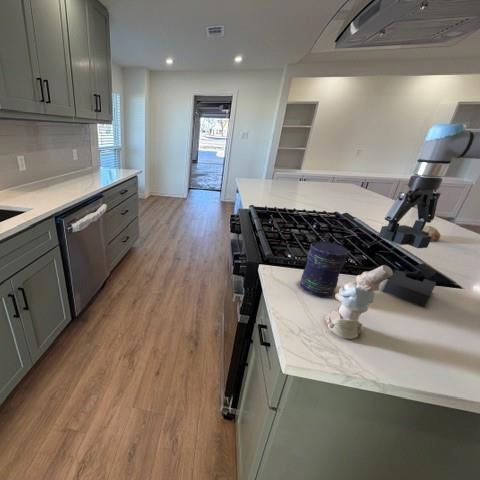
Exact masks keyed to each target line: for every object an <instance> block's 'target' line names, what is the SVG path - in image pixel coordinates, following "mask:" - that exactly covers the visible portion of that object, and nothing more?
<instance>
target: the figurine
mask: <svg viewBox="0 0 480 480" xmlns="http://www.w3.org/2000/svg"><path fill="white" fill-rule="evenodd" d="M393 273H394V271H393V269H392V268H391V267H389V266H388V265H386V264H383V265H380V266H378V267H376V268H373V269H372V270H369V271H367V270H366V271H363V272H362V273H361V274H358V275H356V279H355V281H356V282H354V281H351V282H348V283H345V284H343V285H341V287H340V288H339V289H338V292H336V293H335V295H334V296H335V299H336V300H338V301H339V303H340V306H339V307H336V308H335V309H333V310H331V311H330V313H329V314H328V315H326V316H325V321H326V324H327V328H328V329H329V330H330V331H331V332H333V333H334V334H335V335H337V336H338V337H341V338H344V339H350V340H352V339H356V338H358V336H359V334H364V329H363V324H362V323H361V322H360V321H359V318H360V316H361V315H362V314H364V313H367V311H368V310H369V307H368V305H370V304H372V303H373V302H374V299H375V295H376V293H375V292H378V291H380V286H381V285H380V284H381V283H382V282H384V281H386V280H388V279H389V278H390V277H391V276H392V275H393Z"/></svg>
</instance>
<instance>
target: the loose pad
mask: <svg viewBox="0 0 480 480" xmlns="http://www.w3.org/2000/svg"><path fill="white" fill-rule="evenodd" d="M387 227H388V225H382V226H381V228H380V231H379V233H378V237H379V238H381V239H384V236H385V233H386V229H387ZM428 235H429V233H428V232H425V231H422V230H419V229H415V228H413V226H409V225H406V224H404V225H403V224H399V227H398V229H397V231H396V234H395V236H394V239H393V241H390V242H392V243H394V244H395V245H396V244H397V245H399V246H405V245H406V246H407V245H408V246H410V247H413V248H416V249H427V248H428V247H429V245H430V243H431V242H432V241H431V239H432V237H431V236H428Z"/></svg>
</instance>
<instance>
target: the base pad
mask: <svg viewBox="0 0 480 480" xmlns="http://www.w3.org/2000/svg"><path fill="white" fill-rule="evenodd" d="M436 284H437V282H436V281H434V280H433V281H432V280H429V279H426V278H423V280H422V281H420V280H416V279H413V278H410V277H408V276H407V272H404V271H401V270H398V269H396V270H394V271H393V275H392V276H390V277H389V278H388V279H387V281H386V282H385V285H384V286H383V289H382V292H383V293H386V294H388V295H391V296H393V297H396V298H399V299H401V300H404V301H407V302H409V303H411V304H414V305H418V306H420V307H423V308H425V307H426V305H427V303H428V301H429V300H430V298H431V296H432V293H433V291H434V290H435V287H436Z"/></svg>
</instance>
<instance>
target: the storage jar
mask: <svg viewBox="0 0 480 480" xmlns="http://www.w3.org/2000/svg"><path fill="white" fill-rule="evenodd" d="M348 254H349V250H348V249H347V248H346V247H344V246H342V245H339V244H337V243H334V242H330V241H323V240H321V241H320V240H319V241H318V240H316V241H312V242H311V243H310V248H309V250H308V252H307V257H306V264H305V267H304V269H303V272H302V274H301V279H300V282H299V287H300V288H301V290H303V291H304V292H305V293H307V294H309V295H311V296H314V297H318V298H326V299H327V298H331V297H333V296H334V292H335V290H336V289H337V286H338V282H339V276H340V273H341V271H342V269H343V268H344V265H345V263H346V260H347V256H348Z"/></svg>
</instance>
